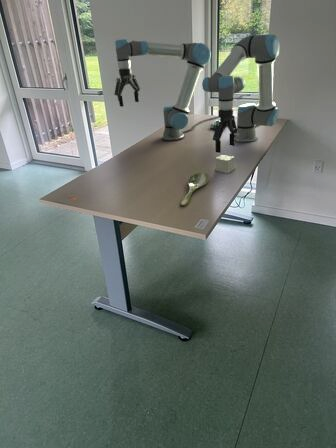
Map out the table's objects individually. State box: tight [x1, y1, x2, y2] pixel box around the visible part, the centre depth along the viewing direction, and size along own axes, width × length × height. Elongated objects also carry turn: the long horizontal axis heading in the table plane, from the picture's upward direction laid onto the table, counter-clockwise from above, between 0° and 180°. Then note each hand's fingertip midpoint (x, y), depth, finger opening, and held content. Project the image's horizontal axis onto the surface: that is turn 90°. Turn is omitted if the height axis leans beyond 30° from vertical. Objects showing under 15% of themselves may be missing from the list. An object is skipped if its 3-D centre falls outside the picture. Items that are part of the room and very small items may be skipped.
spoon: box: [180, 171, 210, 207], centre depth 170 cm, size 35×11×2 cm, turn 159°
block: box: [215, 154, 236, 174], centre depth 188 cm, size 7×8×7 cm
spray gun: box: [210, 118, 222, 129], centre depth 264 cm, size 21×4×15 cm
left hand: (129, 104), depth 216 cm, fingers open, 13 cm apart
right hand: (225, 148), depth 183 cm, fingers open, 13 cm apart
